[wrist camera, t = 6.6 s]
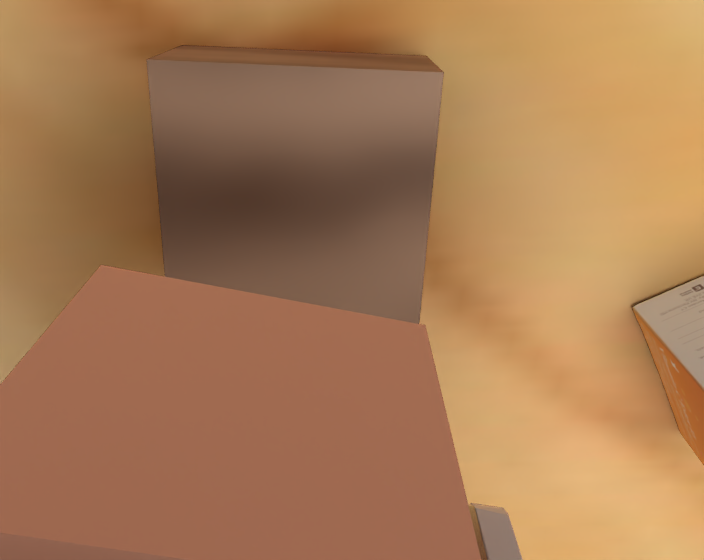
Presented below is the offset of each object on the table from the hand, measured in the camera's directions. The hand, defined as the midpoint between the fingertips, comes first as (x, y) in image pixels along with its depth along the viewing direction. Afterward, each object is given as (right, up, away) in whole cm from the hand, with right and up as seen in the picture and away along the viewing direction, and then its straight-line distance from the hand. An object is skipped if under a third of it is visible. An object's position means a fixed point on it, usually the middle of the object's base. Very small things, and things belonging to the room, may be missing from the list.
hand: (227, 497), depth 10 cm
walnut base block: (0, +8, +17) cm, 18 cm away
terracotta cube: (0, +1, +1) cm, 2 cm away
